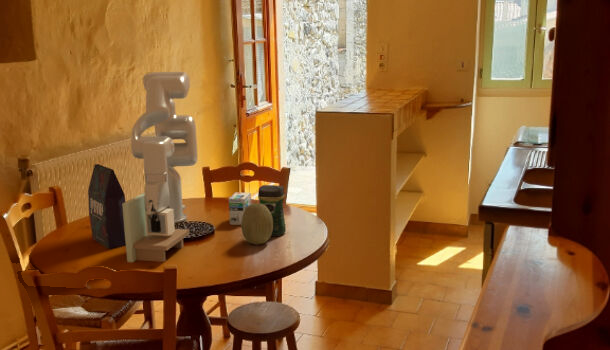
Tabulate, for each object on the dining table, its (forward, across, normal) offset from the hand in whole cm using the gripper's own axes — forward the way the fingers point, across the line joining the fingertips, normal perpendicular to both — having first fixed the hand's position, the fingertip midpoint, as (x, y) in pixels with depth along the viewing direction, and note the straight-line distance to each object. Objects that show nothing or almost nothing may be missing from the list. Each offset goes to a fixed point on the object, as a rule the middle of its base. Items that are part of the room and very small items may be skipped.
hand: (160, 228), depth 204 cm
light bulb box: (+9, -41, +15) cm, 44 cm away
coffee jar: (+9, -28, +32) cm, 43 cm away
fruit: (+9, -16, +30) cm, 35 cm away
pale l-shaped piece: (+9, 0, 0) cm, 9 cm away
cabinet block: (+2, 0, 0) cm, 2 cm away
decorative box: (+9, -8, -24) cm, 27 cm away
